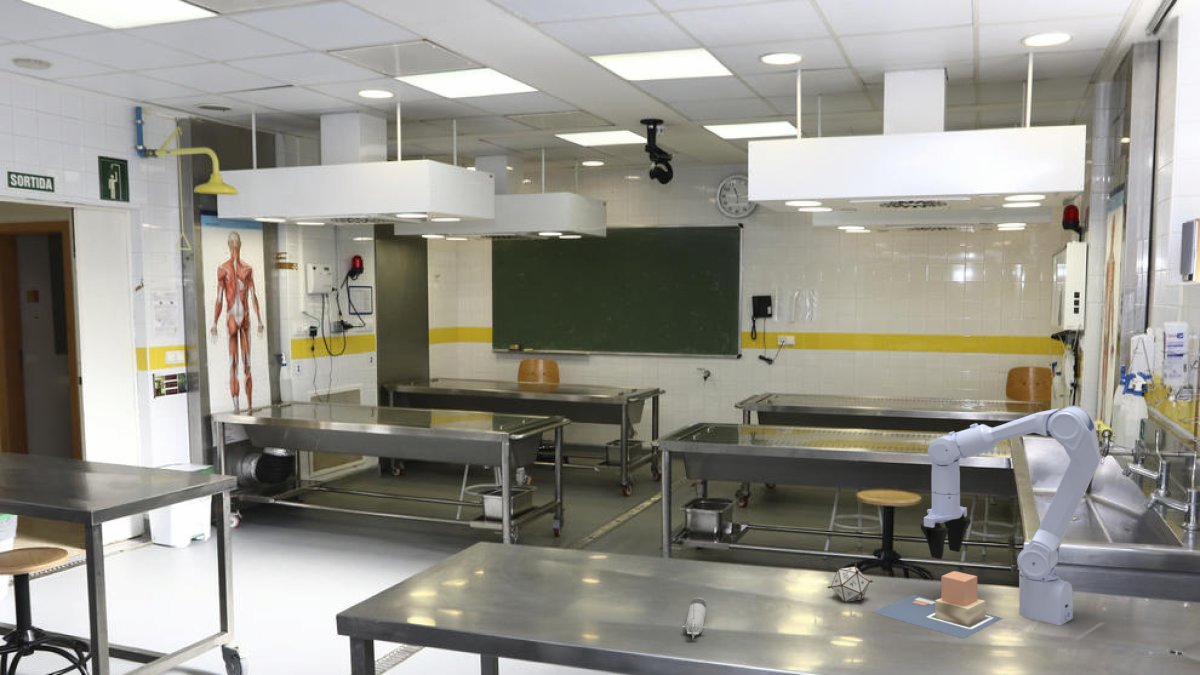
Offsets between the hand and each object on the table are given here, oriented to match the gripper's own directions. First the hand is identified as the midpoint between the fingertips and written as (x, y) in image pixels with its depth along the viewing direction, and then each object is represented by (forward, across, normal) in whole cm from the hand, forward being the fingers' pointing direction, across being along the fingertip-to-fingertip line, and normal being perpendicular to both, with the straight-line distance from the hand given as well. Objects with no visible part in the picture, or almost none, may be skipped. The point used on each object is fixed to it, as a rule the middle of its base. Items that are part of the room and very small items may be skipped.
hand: (945, 554), depth 196 cm
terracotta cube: (+6, +9, +8) cm, 13 cm away
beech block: (+10, +9, +8) cm, 15 cm away
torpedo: (+11, +50, -27) cm, 58 cm away
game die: (+11, +15, -14) cm, 23 cm away
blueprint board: (+10, +11, +4) cm, 16 cm away
